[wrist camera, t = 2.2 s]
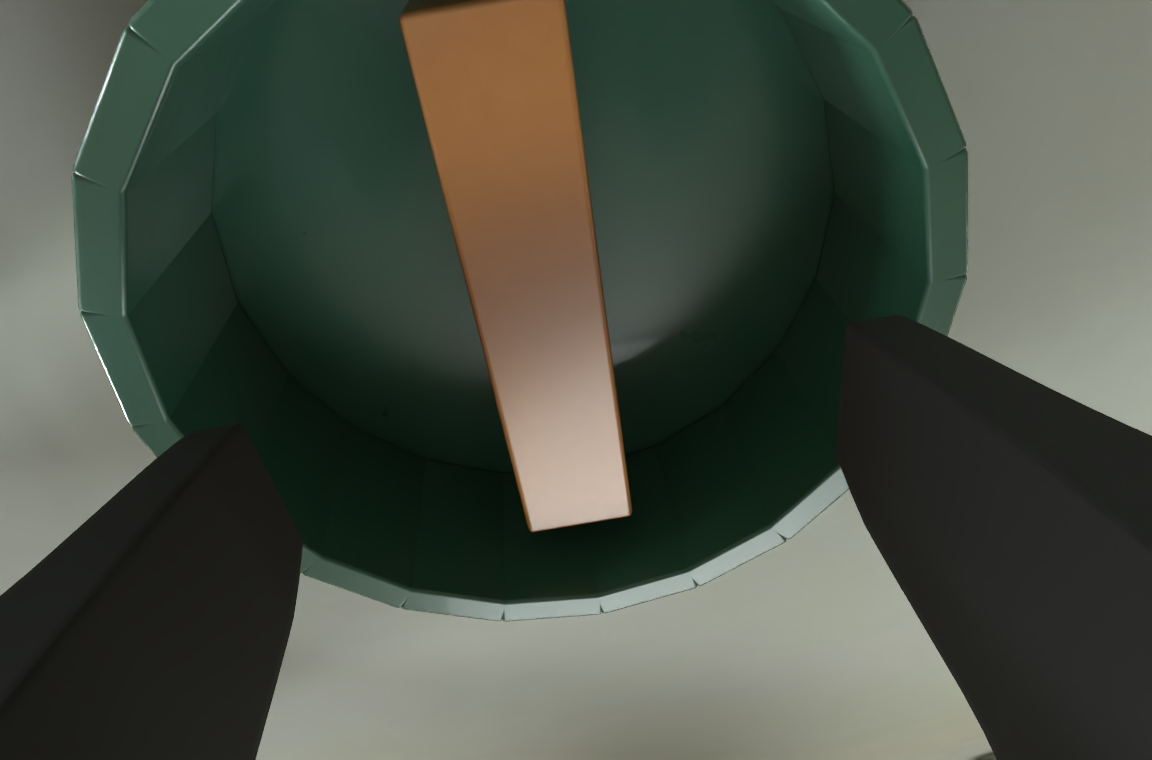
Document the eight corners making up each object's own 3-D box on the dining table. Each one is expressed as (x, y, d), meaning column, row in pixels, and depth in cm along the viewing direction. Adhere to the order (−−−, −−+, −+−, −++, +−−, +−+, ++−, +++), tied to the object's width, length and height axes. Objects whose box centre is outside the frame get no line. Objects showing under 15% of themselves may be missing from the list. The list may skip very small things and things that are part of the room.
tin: (698, 514, 19) (741, 653, 15) (175, 423, 16) (90, 571, 12) (990, 0, 12) (1171, 51, 9) (198, -325, 9) (35, -432, 6)
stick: (614, 425, 16) (633, 518, 14) (524, 440, 16) (529, 534, 14) (549, -41, 11) (563, -15, 9) (416, -18, 11) (395, 13, 9)
